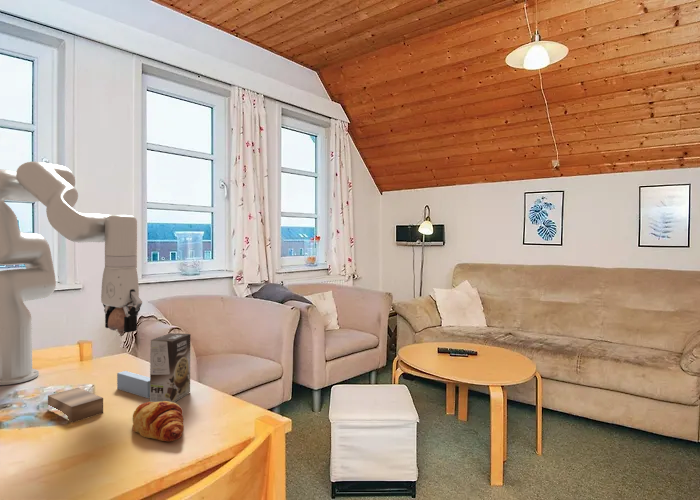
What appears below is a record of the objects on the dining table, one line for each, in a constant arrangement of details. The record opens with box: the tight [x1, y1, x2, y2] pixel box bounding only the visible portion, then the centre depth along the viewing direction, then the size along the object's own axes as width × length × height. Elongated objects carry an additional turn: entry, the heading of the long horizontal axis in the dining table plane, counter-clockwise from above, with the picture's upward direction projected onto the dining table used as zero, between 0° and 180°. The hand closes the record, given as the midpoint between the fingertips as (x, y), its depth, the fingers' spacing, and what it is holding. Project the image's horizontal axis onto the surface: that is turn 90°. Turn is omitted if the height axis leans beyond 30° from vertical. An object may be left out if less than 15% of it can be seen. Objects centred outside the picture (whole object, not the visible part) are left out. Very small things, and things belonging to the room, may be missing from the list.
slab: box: [47, 387, 104, 424], centre depth 110 cm, size 12×7×4 cm, turn 56°
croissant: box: [132, 401, 185, 443], centre depth 101 cm, size 21×10×8 cm, turn 45°
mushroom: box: [108, 307, 131, 336], centre depth 121 cm, size 8×6×8 cm
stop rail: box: [116, 370, 150, 399], centre depth 124 cm, size 13×2×4 cm, turn 60°
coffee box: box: [149, 332, 191, 403], centre depth 120 cm, size 9×6×16 cm
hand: (120, 328), depth 121 cm, fingers closed on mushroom, 7 cm apart
